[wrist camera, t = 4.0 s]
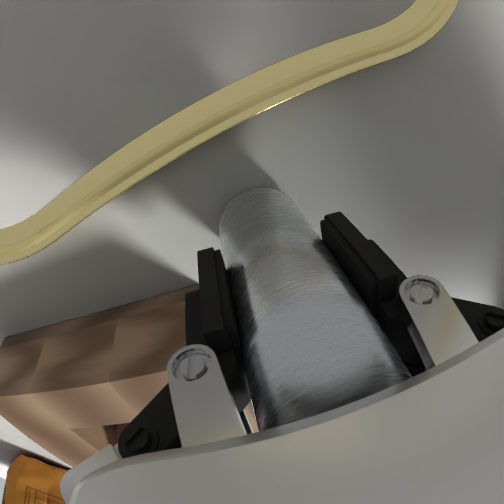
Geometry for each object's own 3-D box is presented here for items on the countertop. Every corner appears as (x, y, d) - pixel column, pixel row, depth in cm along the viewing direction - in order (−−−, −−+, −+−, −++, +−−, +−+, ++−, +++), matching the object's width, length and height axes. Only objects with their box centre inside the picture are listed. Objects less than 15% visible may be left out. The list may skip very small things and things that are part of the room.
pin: (292, 178, 13) (442, 365, 5) (304, 249, 15) (409, 438, 7) (208, 201, 13) (247, 437, 5) (230, 270, 15) (280, 484, 6)
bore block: (199, 283, 16) (207, 360, 12) (250, 400, 22) (264, 457, 18) (4, 337, 15) (-19, 397, 11) (96, 428, 22) (92, 478, 18)
